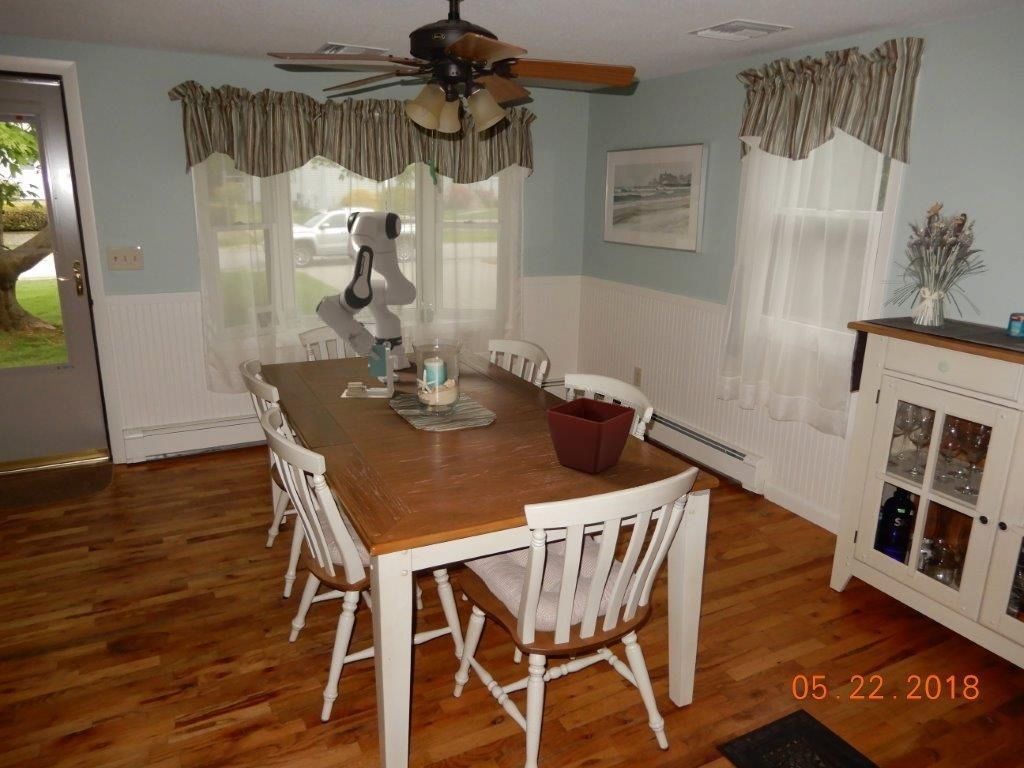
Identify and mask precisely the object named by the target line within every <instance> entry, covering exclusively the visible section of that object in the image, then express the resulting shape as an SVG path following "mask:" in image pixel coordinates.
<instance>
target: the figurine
mask: <svg viewBox="0 0 1024 768" xmlns="http://www.w3.org/2000/svg"><path fill="white" fill-rule="evenodd" d="M389 357H390V349H389V348H386V362H387V361H388V359H389ZM393 363H394V368H395V369H398V357H397V356H393ZM386 372H387V367H386ZM399 377H400V375H398V374H396V373H394V372H393V383H394V382H398V380H399ZM377 379H378V381H380V382H381V383H383V384H387V376H386V377H377Z"/></svg>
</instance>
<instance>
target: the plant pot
mask: <svg viewBox="0 0 1024 768" xmlns="http://www.w3.org/2000/svg"><path fill="white" fill-rule="evenodd" d="M635 413H636V409H635V408H633V407H629V406H624V405H619V404H616V403H612V402H611V403H610V402H606V401H602V400H597V399H593V398H589V397H578V398H576V399H573V400H570V401H567V402H565V403H562V404H559V405H556V406H553V407H550V408H548V409H546V417H547V422H548V428H549V432H550V437H551V441H552V446H553V448H554V451H555V454H556V458H557V459H558V462H559V464H560V465H562V466H566V467H569V468H573V469H576V470H580V471H582V472H586V473H590V474H595V475H596V474H598V473H600V472H602V471H604V470H606V469H608V468H611V467H612V466H614V465H617V463H618V462H619V460H620V458H621V456H622V453H623V451H624V448H625V446H626V444H627V441H628V439H629V435H630V432H631V430H632V429H631V428H632V425H633V421H634V418H635Z"/></svg>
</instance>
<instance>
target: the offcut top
mask: <svg viewBox="0 0 1024 768" xmlns="http://www.w3.org/2000/svg"><path fill="white" fill-rule="evenodd" d="M362 386H363V382H362V381H361V382H359V381H357V382H356V381H355V382H348V383H347V389H348V392H351V391H362Z"/></svg>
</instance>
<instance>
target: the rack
mask: <svg viewBox="0 0 1024 768" xmlns="http://www.w3.org/2000/svg"><path fill="white" fill-rule="evenodd" d="M386 367H387V383H386V387H385V388H384V387H370V388H369V389H368V388H367V391H366V392H365V394H364V396H346V390H347V389H348V388H347V389H345V390H344V391H343V393H342V394H341V396H340V398H377V399H378V398H379V399H380V398H392V397H393V395H394V393H395V389H394V386H395V385H394V382H393V373H394V370H393V356H390V357H389V359H388V361H387V362H386Z"/></svg>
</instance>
